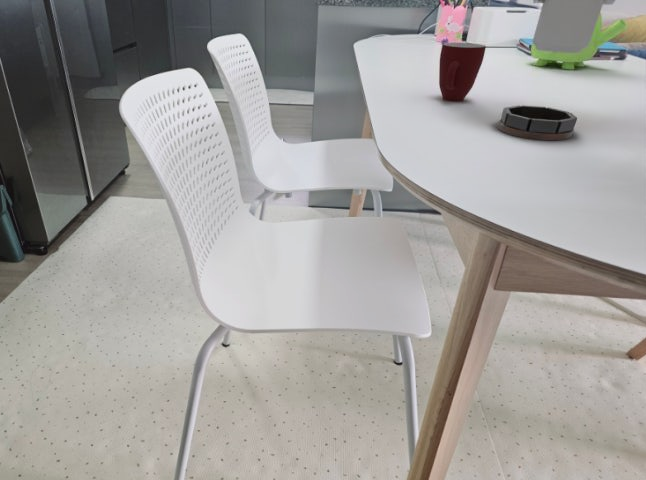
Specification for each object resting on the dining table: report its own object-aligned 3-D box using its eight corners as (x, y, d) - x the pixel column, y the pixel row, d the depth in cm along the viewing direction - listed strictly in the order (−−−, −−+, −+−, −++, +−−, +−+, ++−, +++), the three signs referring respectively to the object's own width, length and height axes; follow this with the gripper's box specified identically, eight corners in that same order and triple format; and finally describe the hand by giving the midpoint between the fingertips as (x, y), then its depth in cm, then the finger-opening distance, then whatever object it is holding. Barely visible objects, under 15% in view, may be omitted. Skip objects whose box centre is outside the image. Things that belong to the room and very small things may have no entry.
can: (525, 46, 73) (550, -47, 67) (576, 48, 72) (607, -47, 65) (537, 52, 67) (566, -50, 60) (594, 54, 66) (630, -50, 59)
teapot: (597, 75, 121) (622, 5, 112) (515, 65, 134) (531, 1, 126) (626, 66, 135) (651, 3, 127) (549, 57, 148) (567, 0, 140)
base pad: (563, 124, 79) (568, 107, 78) (580, 143, 70) (586, 124, 69) (494, 119, 81) (498, 103, 80) (501, 137, 73) (506, 118, 71)
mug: (470, 107, 89) (483, 50, 84) (427, 103, 92) (437, 47, 87) (475, 97, 97) (487, 44, 92) (435, 93, 100) (445, 41, 95)
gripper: (511, -100, 67) (501, -20, 65) (674, -104, 63) (671, -18, 60) (499, -60, 73) (490, 15, 71) (647, -61, 69) (643, 19, 66)
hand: (574, 0), depth 65 cm, fingers closed on can, 7 cm apart
